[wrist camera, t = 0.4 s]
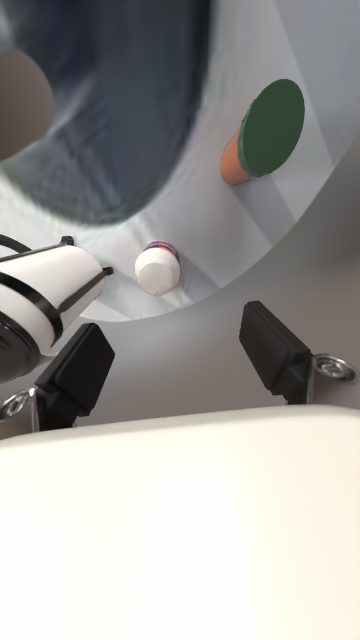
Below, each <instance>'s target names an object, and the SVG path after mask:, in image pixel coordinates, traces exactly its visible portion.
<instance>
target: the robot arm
mask: <svg viewBox="0 0 360 640" xmlns="http://www.w3.org/2000/svg"><path fill="white" fill-rule="evenodd" d="M239 339H240V342H241V344H242V346H243V348H244V350H245V351H246V353H247V355H248V357H249V358H250V360H251V362H252V364H253V366H254V368H255V369H256V371H257V373H258V375H259V377H260V379H261V380H262V382H263V384H264V386H265V387H266V389H267V390H270V391H271V393H272V395H273V396H274V395H283V397H284V398H285V400H286V403H285V405H284V406H272V407H261V408H250V409H240V410H230V411H221V412H211V413H202V414H192V415H182V416H174V417H164V418H154V419H145V420H136V421H127V422H118V423H109V424H100V425H91V426H82V427H77V424H76V420H75V419H76V417H77V416H79V417H84V416H89V414H90V411H91V410H92V409H93V408H94V407H95V404H96V402H97V399H98V397H99V394H100V392H101V389H102V387H103V384H104V382H105V380H106V377H107V374H108V372H109V369H110V367H111V365H112V362H113V359H114V357H115V353H114V351H113V350H112V348H111V346H110V344H109V343H108V341H107V340H106V338H105V336H104V334H103V333H102V331H101V329H100V327H99V326H98V325H96V324H95V323H86V324H83V325H82V326H81V327H80V328H79V329H78V330H77V332H76V333H75V334H74V335H73V336H72V338H71V339H70V340H69V341H68V342H67V344H66V345H65V346H64V347H63V349H62V350H61V351H60V352H59V353H58V355H57V356H56V357H55V358H54V359H53V361H52V362H51V363H50V364H49V366H48V367H47V368H46V369H45V370H44V372H43V373H42V374H41V375H40V376H39V378H38V379H37V380H36V381H35V383H34V384H35V385H36V386H38V388H37V390H34V389H32V388H27V389H23V390H21V391H19V392H17V393H15V394H13V395H12V396H10V397H9V398H8V399H7V400H5V401H4V402H3V403H2V404H1V405H0V640H360V373H359V371H358V370H357V369H356V368H355V367H354V366H353V365H351V364H350V363H349V362H347V361H345V360H343V359H341V358H339V357H336V356H334V355H329V354H316V355H313V354H312V353H311V352H310V351H311V350H310V349H309V348H308V347H307V346H305V344H304V343H303V342H301V341H300V340H299V339H298V338H297V337H296V336H295V335H294V334H293V333H292V332H291V331H290V330H289V329H288V328H287V327H286V326H285V325H284V324H283V323H282V322H280V320H279V319H277V318H276V317H275V316H274V315H273V314H272V313H271V312H270V311H269V310H268V309H267V308H266V307H265V306H264V305H263V304H262V303H261V302H260V301H252V302H248V303H247V305H245V306H244V311H243V317H242V323H241V329H240V335H239Z"/></svg>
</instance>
